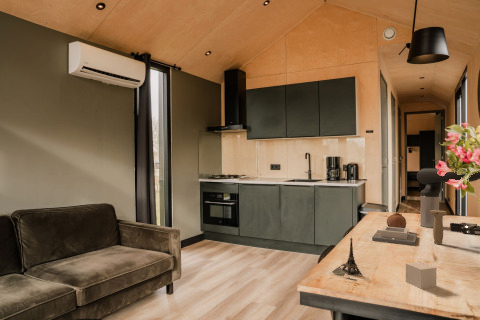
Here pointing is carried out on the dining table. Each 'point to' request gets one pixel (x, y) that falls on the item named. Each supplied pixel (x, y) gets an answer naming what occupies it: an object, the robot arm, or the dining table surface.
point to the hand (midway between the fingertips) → (450, 226)
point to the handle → (438, 225)
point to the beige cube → (421, 275)
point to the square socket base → (395, 236)
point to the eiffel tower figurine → (348, 266)
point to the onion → (396, 221)
